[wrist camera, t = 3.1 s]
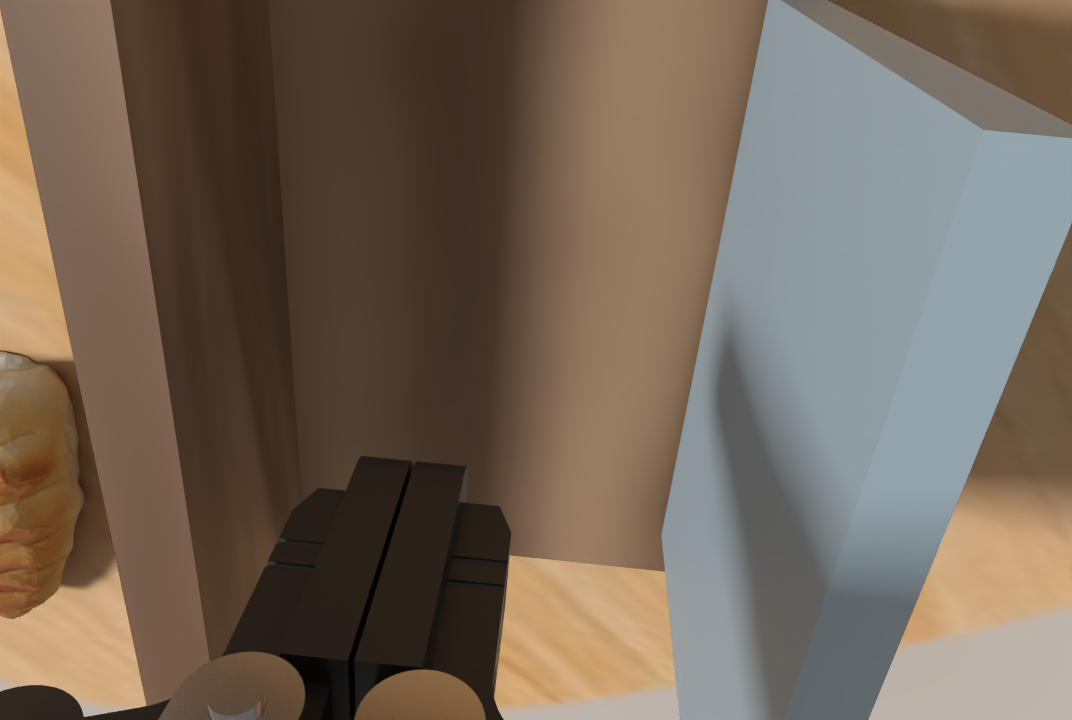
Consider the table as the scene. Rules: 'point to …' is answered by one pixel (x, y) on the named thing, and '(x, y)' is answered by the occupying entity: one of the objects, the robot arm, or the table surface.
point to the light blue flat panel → (848, 358)
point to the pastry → (35, 483)
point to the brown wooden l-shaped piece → (376, 264)
